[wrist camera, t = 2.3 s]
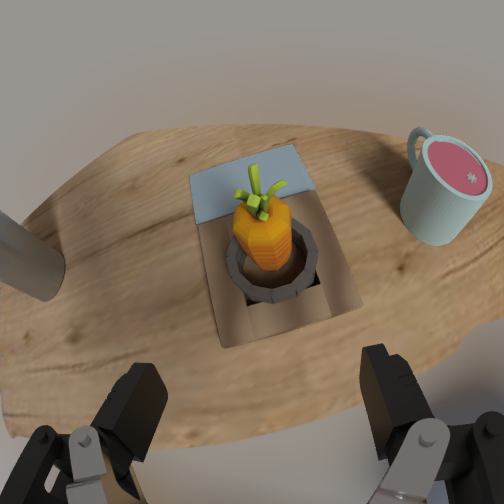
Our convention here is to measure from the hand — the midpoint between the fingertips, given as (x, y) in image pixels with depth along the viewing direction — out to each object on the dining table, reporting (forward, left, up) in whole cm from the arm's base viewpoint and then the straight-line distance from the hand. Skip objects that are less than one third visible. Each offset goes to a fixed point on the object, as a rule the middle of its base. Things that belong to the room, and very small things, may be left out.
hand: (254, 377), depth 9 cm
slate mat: (+2, +25, -18) cm, 31 cm away
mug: (+24, +14, -19) cm, 33 cm away
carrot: (+2, +12, -19) cm, 22 cm away
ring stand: (+2, +12, -18) cm, 22 cm away
